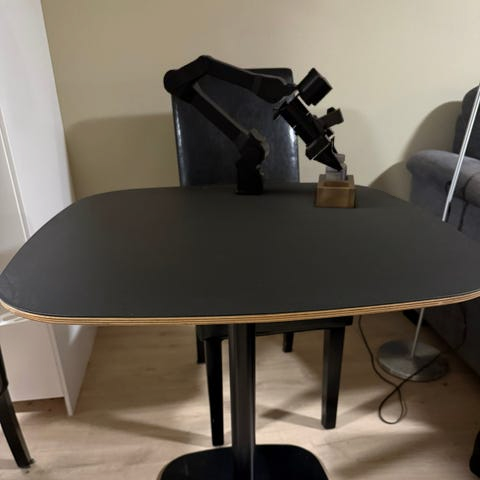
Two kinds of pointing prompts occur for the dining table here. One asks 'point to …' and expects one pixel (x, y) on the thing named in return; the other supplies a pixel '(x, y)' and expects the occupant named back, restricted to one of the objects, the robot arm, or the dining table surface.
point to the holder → (335, 192)
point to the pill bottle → (334, 174)
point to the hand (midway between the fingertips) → (341, 168)
